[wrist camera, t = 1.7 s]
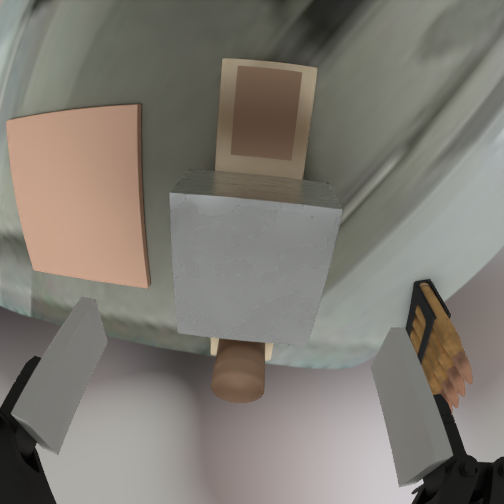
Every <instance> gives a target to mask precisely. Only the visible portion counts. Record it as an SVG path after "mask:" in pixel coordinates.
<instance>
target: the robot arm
mask: <svg viewBox="0 0 504 504" xmlns="http://www.w3.org/2000/svg"><path fill="white" fill-rule="evenodd" d="M107 343H108V342H107V338H106V335H105V331H104V328H103V324H102V321H101V317H100V314H99V310H98V306H97V302H96V299H91V298H85V297H81V299H80V300H79V302H78V303H77V304H76V306H75V307H74V309H73V310H72V312H71V313H70V315H69V316H68V318H67V319H66V321H65V322H64V324H63V325H62V327H61V328H60V330H59V332H58V333H57V334H56V336H55V338H54V339H53V341H52V342H51V344H50V346H49V347H48V349H47V350H46V352H45V353H44V355H43V357H42V358H40V357H37V356H34V357H33V358H32V359H30V360H29V361H28V362H27V363H26V364H25V366H24V368H23V369H22V371H21V372H20V373H21V374H20V375H19V376H18V377H17V379H16V382H15V383H14V384H13V386H12V388H11V390H10V391H9V393H8V395H7V397H6V399H5V400H4V402H3V404H2V406H1V407H0V504H56V501H55V499H54V497H53V494H52V492H51V490H50V487H49V484H48V481H47V479H46V476H45V473H44V471H43V468H42V465H41V462H40V459H39V456H38V453H37V450H36V448H35V446H36V443H38V444H39V445H40V446H41V447H42V448H43V449H46V450H48V451H50V452H52V453H54V454H57V455H58V454H59V451H60V448H61V446H62V444H63V441H64V438H65V436H66V433H67V431H68V429H69V426H70V424H71V421H72V419H73V416H74V414H75V412H76V409H77V407H78V405H79V403H80V400H81V398H82V396H83V393H84V391H85V389H86V387H87V385H88V382H89V380H90V378H91V376H92V374H93V372H94V369H95V367H96V365H97V363H98V361H99V359H100V357H101V355H102V353H103V351H104V349H105V347H106V345H107ZM371 370H372V373H373V377H374V380H375V384H376V388H377V392H378V396H379V399H380V403H381V406H382V411H383V415H384V419H385V423H386V427H387V432H388V436H389V440H390V445H391V449H392V453H393V458H394V463H395V468H396V473H397V478H398V484H399V487H402V486H407V485H411V484H415V483H417V482H418V481H419V480H421V479H423V481H424V484H423V485H421V486H419V487H418V488H416V489H415V490H414V491H413V492H412V494H415V493H416V492H418V493H417V495H416V497H415V499H414V500H413V502H412V504H504V457H500V458H499V459H497V460H496V461H495V462H493V463H489V462H477V460H476V459H475V458H474V457H472V456H470V455H467V454H466V452H465V449H464V446H463V443H462V440H461V437H460V434H459V431H458V428H457V426H456V423H454V422H455V420H454V417H453V415H452V412H451V409H450V407H449V404H448V402H447V401H446V400H445V398H444V397H443V396H442V395H441V394H435V395H433V394H432V391H431V389H430V386H429V384H428V381H427V379H426V376H425V374H424V371H423V369H422V366H421V364H420V361H419V359H418V357H417V354H416V352H415V350H414V347H413V345H412V343H411V340H410V338H409V336H408V334H407V331H406V329H405V328H390V330H389V332H388V334H387V336H386V338H385V340H384V342H383V344H382V346H381V348H380V350H379V352H378V354H377V356H376V358H375V360H374V362H373V364H372V366H371Z"/></svg>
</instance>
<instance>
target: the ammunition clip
mask: <svg viewBox="0 0 504 504" xmlns="http://www.w3.org/2000/svg"><path fill="white" fill-rule="evenodd" d="M450 317H451V314H450V313H449V310H448V309H447V307H446V305H445V303H444V302H443V300H442V298H441V296H440V295H439V293H438V291H437V290H436V288H435V286H434V285H433V283H432V282H431V280H425V281H419V282H415V283H414V286H413V293H412V299H411V304H410V310H409V315H408V320H407V325H406V331H407V334H408V336H409V338H410V340H411V343H412V345H413V347H414V350H415V352H416V354H417V357H418V359H419V361H420V364H421V366H422V369H423V371H424V374H425V376H426V379H427V381H428V384H429V386H430V389H431V391H432V394H433V395H435V394H441V395H442V396H443V397H444V398H445V400H446V401H447V402H448V404H449V407H450V409H451V412H452V405H453V406H454V407H455V408H458V405H459V398H458V393H459V394H460V395H461V396H463V397H464V396H465V383H464V380H465V381H466V382H467V383H469V384H472V382H473V378H472V370H471V367H470V363H469V361H468V358H467V356H466V354H465V351H464V349H463V347H462V344H461V340H460V337H459V335H458V334H457V332H456V330H455V328H454V326H453V324H452V323H451V321H450Z"/></svg>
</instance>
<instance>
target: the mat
mask: <svg viewBox="0 0 504 504" xmlns="http://www.w3.org/2000/svg"><path fill="white" fill-rule="evenodd" d="M141 106H142V104H129V105H113V106H100V107H89V108H79V109H71V110H63V111H56V112H49V113H43V114H37V115H31V116H25V117H20V118H15V119H11V120H8V121H6V125H7V138H8V148H9V157H10V165H11V172H12V179H13V185H14V191H15V197H16V202H17V207H18V212H19V216H20V221H21V225H22V229H23V233H24V237H25V241H26V245H27V249H28V252H29V256H30V259H31V263H32V266H33V269H34V270H36V271H41V272H46V273H52V274H58V275H63V276H69V277H75V278H81V279H88V280H94V281H100V282H107V283H113V284H120V285H127V286H134V287H141V288H148V287H149V285H150V284H151V283H150V274H149V265H148V256H147V245H146V234H145V221H144V206H143V187H142V158H141Z"/></svg>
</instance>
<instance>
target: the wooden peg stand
mask: <svg viewBox="0 0 504 504" xmlns="http://www.w3.org/2000/svg"><path fill="white" fill-rule="evenodd" d="M316 77H317V68H315V67H309V66H302V65H295V64H287V63H279V62H270V61H259V60H246V59H227V58H223V61H222V73H221V85H220V98H219V112H218V127H217V143H216V161H215V171H223V172H235V173H246V174H257V175H267V176H276V177H285V178H293V179H302V180H303V174H304V167H305V160H306V153H307V146H308V139H309V132H310V124H311V117H312V109H313V101H314V93H315V85H316ZM273 344H274V343H263V342H251V341H241V340H231V339H222V338H213V337H211V355H216V361H215V366H214V372H213V378H212V385H211V389H212V391H213V392H214V394H215V395H216V396H218V397H220V398H221V399H223V400H226V401H229V402H234V403H247V402H252V401H255V400H257V399H259V398H260V397H261V396H262V395H263V393H264V380H265V360H270V358H271V354H272V349H273Z"/></svg>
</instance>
